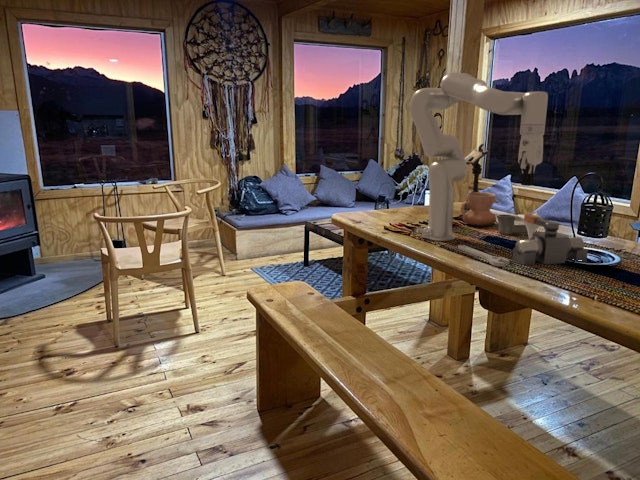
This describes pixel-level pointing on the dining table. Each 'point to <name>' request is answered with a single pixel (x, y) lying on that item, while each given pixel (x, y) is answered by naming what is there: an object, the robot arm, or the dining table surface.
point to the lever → (541, 222)
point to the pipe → (510, 225)
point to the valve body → (549, 248)
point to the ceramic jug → (479, 209)
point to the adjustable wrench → (486, 256)
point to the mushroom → (530, 225)
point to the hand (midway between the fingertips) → (526, 184)
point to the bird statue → (475, 169)
